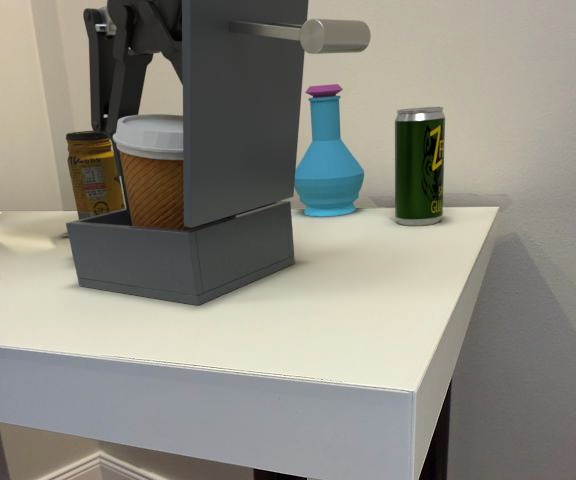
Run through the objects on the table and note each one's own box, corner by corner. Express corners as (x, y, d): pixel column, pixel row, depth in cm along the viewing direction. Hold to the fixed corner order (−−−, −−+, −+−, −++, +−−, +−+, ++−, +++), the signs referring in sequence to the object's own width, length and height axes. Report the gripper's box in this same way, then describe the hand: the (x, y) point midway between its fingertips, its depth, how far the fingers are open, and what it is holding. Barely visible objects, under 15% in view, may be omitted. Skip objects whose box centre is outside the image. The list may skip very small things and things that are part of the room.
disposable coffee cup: (133, 280, 56) (125, 134, 50) (110, 244, 64) (101, 112, 58) (237, 271, 60) (241, 133, 54) (204, 238, 67) (205, 113, 61)
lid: (181, -17, 42) (293, -7, 38) (301, -6, 52) (400, 2, 48) (183, 225, 50) (276, 255, 46) (286, 195, 60) (370, 217, 56)
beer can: (390, 226, 74) (389, 111, 69) (400, 216, 79) (400, 108, 74) (438, 226, 72) (440, 108, 67) (446, 216, 77) (449, 105, 72)
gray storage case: (78, 286, 61) (65, 222, 58) (181, 251, 70) (173, 196, 68) (198, 305, 52) (188, 232, 50) (295, 263, 62) (290, 201, 60)
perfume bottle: (329, 202, 91) (323, 84, 85) (380, 207, 85) (378, 80, 79) (280, 214, 86) (270, 89, 80) (330, 221, 79) (324, 85, 73)
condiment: (139, 222, 89) (123, 127, 84) (113, 236, 81) (93, 133, 76) (90, 224, 90) (71, 131, 85) (59, 238, 83) (37, 137, 78)
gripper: (9, -63, 53) (68, 217, 62) (213, -130, 41) (249, 230, 50) (83, -53, 59) (128, 202, 68) (283, -110, 46) (304, 211, 56)
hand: (179, 214), depth 59 cm, fingers closed on disposable coffee cup, 9 cm apart
